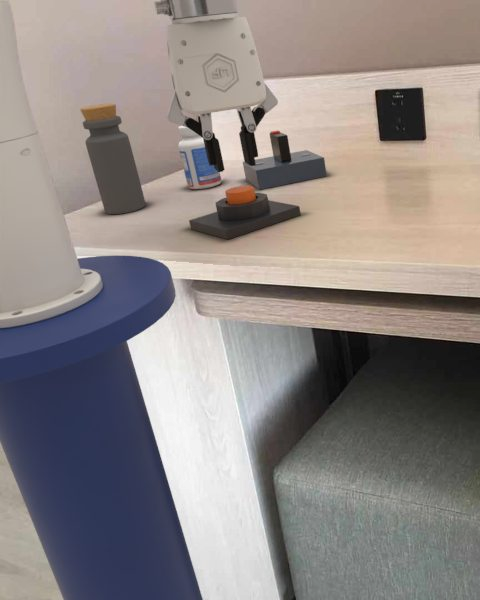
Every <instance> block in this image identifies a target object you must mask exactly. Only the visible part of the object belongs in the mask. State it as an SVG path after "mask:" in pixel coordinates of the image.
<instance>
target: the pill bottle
mask: <svg viewBox="0 0 480 600" xmlns="http://www.w3.org/2000/svg"><path fill="white" fill-rule="evenodd" d="M177 129H178V133H179V135H180V137H181V138H182V139H181V140H180V141H179V142H178V145H177V148H178V152H179V155H180V159H181V164H182V168H183V173H184V175H185V181H186V184H187V187H188V189H191V190H205V189H209V188H213V187H217V186H218V185H221V183H222V177H221V172H218V171H217V170H215V168H214V165H211V166H210V165H209V163H208V159H207V154H206V149H205V145H204V140H203V138H202V137H201V136H199V135H198V134H197V133H195V132H194V131H192V130H191V129H189V128H187V127H184V126H181V125H179V126H178V128H177Z"/></svg>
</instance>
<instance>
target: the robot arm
mask: <svg viewBox="0 0 480 600" xmlns="http://www.w3.org/2000/svg"><path fill="white" fill-rule="evenodd" d="M153 5H154V10H155V13H156V15H163V16H167V17H169V20H170V21H171V24H168V25H166V42H167V52H168V53H167V55H168V61H169V68H170V74H171V80H172V86H173V93H172V96H171V99H170V102H169V106H168V110H167V113H166V119H167V121H169V122H170V123H173V124H176V125H178V126H184V127H187V128H189V129H191V130H192V131H194V132H195V133H197V134H198V135H199V136H201V137H202V138H203V140H204V145H205V149H206V154H207V159H208V163H209V165H210V166H211V165H214V168H215V170H217V171H218V172H220V173H222V172H224V171H225V166H224V165H225V164H224V159H223V155H222V150H221V145H220V141H219V139H218V138H217V137H216V134H215V133H214V132H213V122H212V121H213V120H212V113H219V112H227V111H231V110H236V112H237V115H238V120H239V122H240V131H239V132H238V136H239V140H240V146H241V151H242V155H243V162H245V163H247V164H248V165H250V166H255V165H256V163H255V160H256V158H259V151H258V147H257V140H256V136H255V132H256V131H257V128H258V126H259V124H260V123H261V121H262V120H263V119H264V117H265V115H266V114H267V113H269V112H270V111H271V110H273V109H274V108H275V107H276V106H277V105H278V103H279V100H278V99H277V97H276V95H274V94H273V92H272V91H271V89H270V88H269V87H268V85H267V84H266V83H265V79H264V74H263V69H262V65H261V62H260V58H259V53H258V50H257V47H256V43H255V39H254V36H253V33H252V30H251V27H250V24H249V21H248V19H247V16H239V13H238V6H237V2H236V0H159V1H153ZM18 48H19V47H18V40H17V31H16V24H15V18H14V13H13V9H12V6H11V2H10V0H0V329H4V328H11V327H17V326H23V325H27V324H31V323H36V322H39V321H43V320H46V319H50V318H53V317H56V316H58V315H61V314H64V313H66V312H69V311H71V310H73V309H76V308H78V307H80V306H82V305H83V304H85V303H87V302H89V301H90V300H92V299H93V298H94V297H95V296H97V295H98V294H99V292H100V291H101V289H102V288H103V283H102V280H101V277H100V275H99V274H98V273H97V272H95V271H92V270H88V269H80V266H79V262H78V256H77V253H76V250H75V246H74V243H73V240H72V237H71V234H70V231H69V227H68V224H67V221H66V218H65V214H64V210H63V207H62V205H61V202H60V198H59V195H58V191H57V189H56V186H55V182H54V178H53V176H52V172H51V169H50V166H49V162H48V159H47V156H46V153H45V150H44V146H43V144H42V143H43V142H42V139H41V136H40V133H39V130H38V127H37V125H36V122H35V118H34V115H33V111H32V108H31V105H30V101H29V97H28V94H27V89H26V86H25V81H24V77H23V73H22V69H21V63H20V62H21V61H20V57H19V56H20V55H19V50H18ZM251 107H253V108H251ZM182 111H184V112H185V113H188V114H190V115H196V118H197V120H195V119H194V118H192V117H190V116H187V115H185V114H183V112H182Z"/></svg>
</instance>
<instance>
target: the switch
mask: <svg viewBox="0 0 480 600" xmlns="http://www.w3.org/2000/svg"><path fill="white" fill-rule="evenodd" d="M224 193H225V198H227V203H228V204H241V203H247V202H250V201H254V200H256V196H255V193H256V191H255V186H254V185H239V186H233V187H231V188H228V189H226V190H225V191H224Z"/></svg>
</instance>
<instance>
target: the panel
mask: <svg viewBox="0 0 480 600" xmlns="http://www.w3.org/2000/svg"><path fill="white" fill-rule="evenodd" d="M290 154H291V161H287V162H280V161H278V160H277V159H275V158H274V156H273V155H272V156H267V157H262V158H255V163H256V165H255V166H250V165H248V164H247V163H245V161H242V167H243V171H244V176H245V181H247V182H248V183H249V184H251V186H253V187H254V188H256V189H258V190H260V191H261V190H265V189H270V188H274V187H275V188H276V187H280V186H286V185H289V184H290V185H291V184H295V183H300V182H306V181H310V180H316V179H321V178H325V177H327V175H328V174H327V168H326V161H325V157H324V156H321V155H319V154H317V153H315V152H312V151H310V150H308V149H305V150H300V151H295V152H290Z"/></svg>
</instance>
